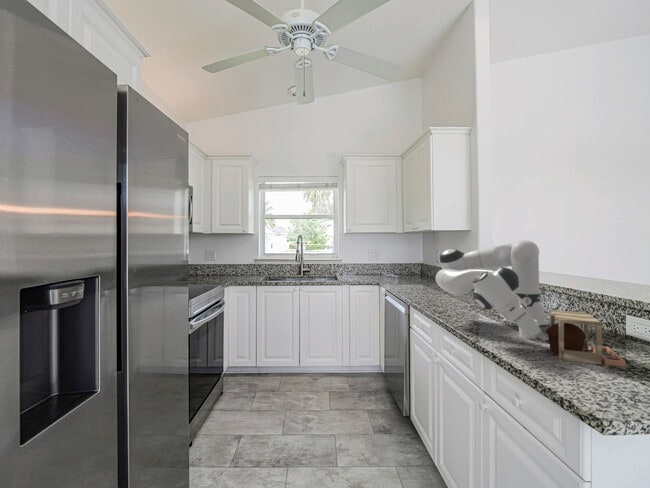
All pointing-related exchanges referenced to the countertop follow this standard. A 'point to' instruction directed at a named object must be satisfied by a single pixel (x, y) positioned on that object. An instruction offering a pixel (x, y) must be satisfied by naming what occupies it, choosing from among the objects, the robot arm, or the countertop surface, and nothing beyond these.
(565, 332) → the muffin
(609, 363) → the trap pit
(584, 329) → the tunnel
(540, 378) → the countertop surface
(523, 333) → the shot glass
